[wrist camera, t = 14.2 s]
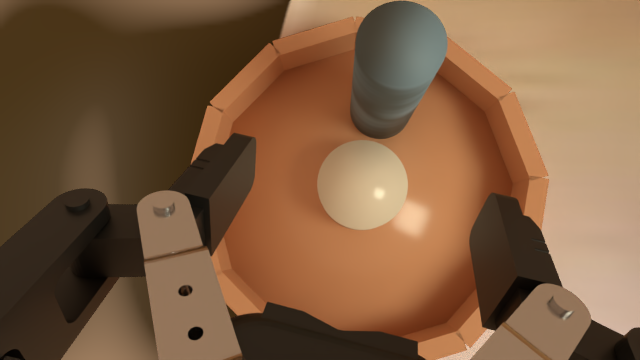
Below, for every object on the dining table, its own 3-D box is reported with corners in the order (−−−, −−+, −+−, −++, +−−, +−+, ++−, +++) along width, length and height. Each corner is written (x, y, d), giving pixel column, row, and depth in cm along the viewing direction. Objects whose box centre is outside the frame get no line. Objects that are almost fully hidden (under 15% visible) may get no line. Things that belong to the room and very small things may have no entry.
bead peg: (415, 87, 29) (455, 9, 19) (403, 144, 28) (438, 94, 18) (357, 76, 29) (366, -7, 19) (344, 132, 29) (346, 75, 19)
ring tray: (541, 77, 30) (567, 56, 26) (489, 393, 26) (512, 416, 23) (251, 21, 32) (240, -6, 28) (169, 308, 28) (145, 318, 25)
